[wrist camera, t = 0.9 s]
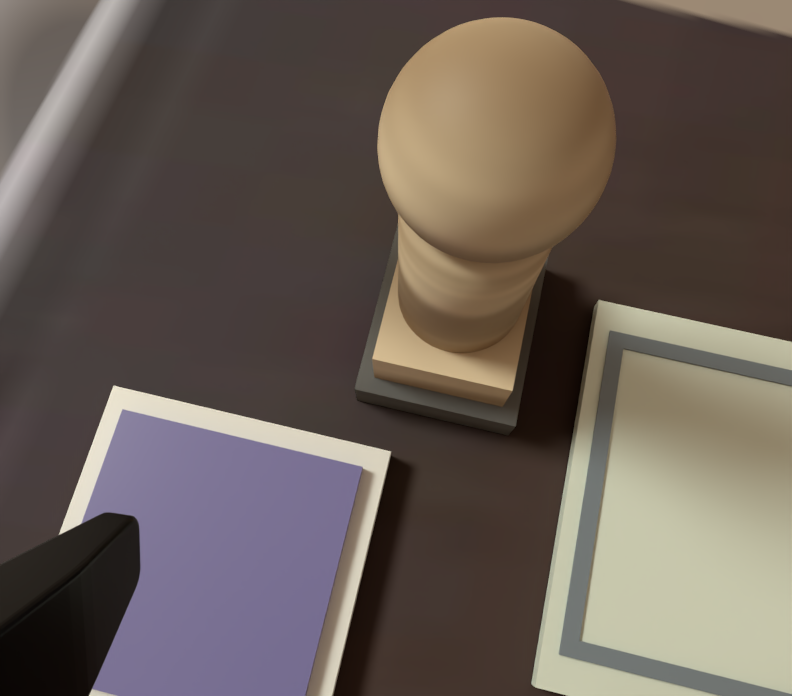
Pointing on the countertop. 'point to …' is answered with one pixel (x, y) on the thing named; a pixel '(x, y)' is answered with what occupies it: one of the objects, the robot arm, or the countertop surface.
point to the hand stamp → (479, 213)
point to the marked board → (674, 516)
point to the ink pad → (230, 548)
